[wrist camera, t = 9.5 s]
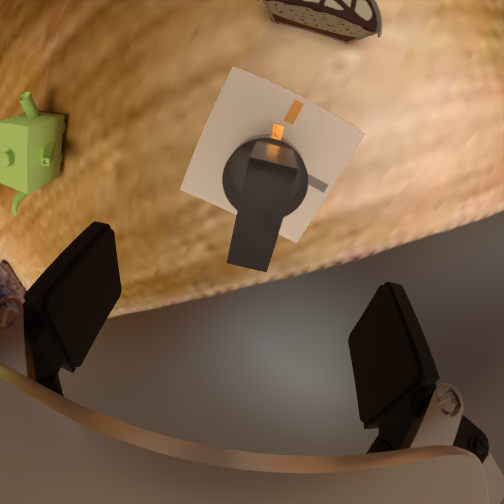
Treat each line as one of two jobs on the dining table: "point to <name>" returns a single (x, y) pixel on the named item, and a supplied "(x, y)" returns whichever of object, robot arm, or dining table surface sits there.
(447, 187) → the dining table surface
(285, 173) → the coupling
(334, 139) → the post base
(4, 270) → the geode
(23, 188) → the kettle
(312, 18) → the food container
